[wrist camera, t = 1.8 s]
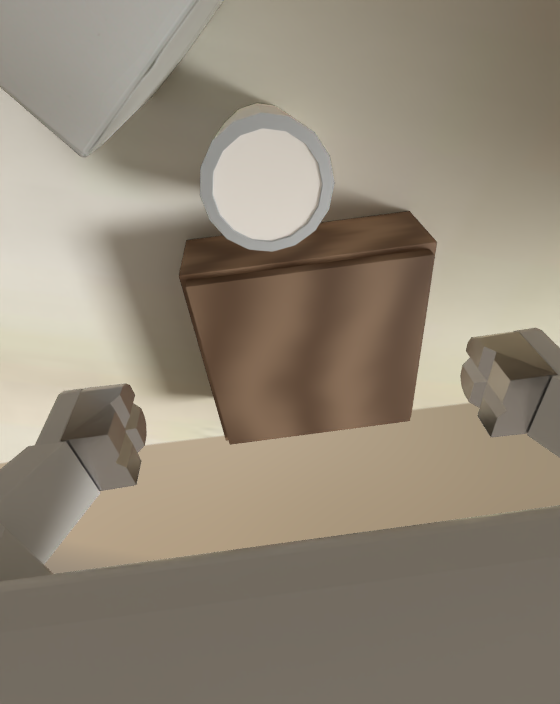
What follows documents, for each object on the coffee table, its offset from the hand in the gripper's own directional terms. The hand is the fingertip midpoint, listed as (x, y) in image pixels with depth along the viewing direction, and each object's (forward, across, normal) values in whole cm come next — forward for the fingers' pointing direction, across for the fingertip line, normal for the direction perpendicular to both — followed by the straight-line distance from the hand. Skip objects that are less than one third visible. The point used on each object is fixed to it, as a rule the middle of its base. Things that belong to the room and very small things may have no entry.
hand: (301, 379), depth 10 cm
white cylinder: (+21, 0, 0) cm, 21 cm away
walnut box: (+21, -2, +13) cm, 25 cm away
